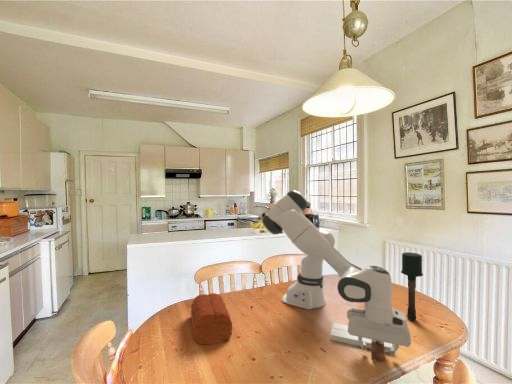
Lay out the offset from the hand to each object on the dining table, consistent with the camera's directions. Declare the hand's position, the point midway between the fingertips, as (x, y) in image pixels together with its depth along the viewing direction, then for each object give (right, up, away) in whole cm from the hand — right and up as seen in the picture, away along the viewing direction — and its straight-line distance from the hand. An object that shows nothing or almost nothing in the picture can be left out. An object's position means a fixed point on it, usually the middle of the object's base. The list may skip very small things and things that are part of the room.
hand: (377, 351), depth 93 cm
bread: (-63, -2, +21) cm, 67 cm away
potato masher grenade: (+28, -2, +27) cm, 39 cm away
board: (-2, -2, +11) cm, 11 cm away
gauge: (+1, -2, +4) cm, 4 cm away
